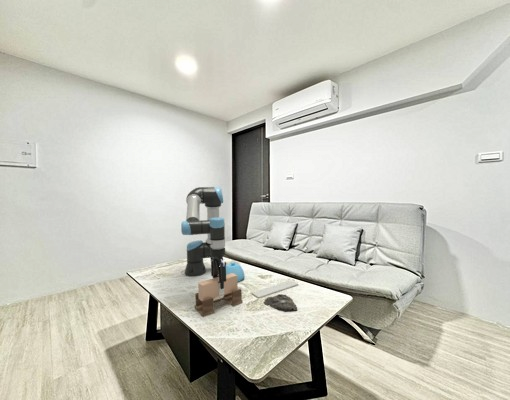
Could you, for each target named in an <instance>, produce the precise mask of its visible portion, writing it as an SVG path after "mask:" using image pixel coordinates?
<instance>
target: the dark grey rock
mask: <svg viewBox="0 0 510 400" xmlns="http://www.w3.org/2000/svg"><path fill="white" fill-rule="evenodd" d="M263 304H264V305H265V306H269V307H271V309H274V310H277V311H282V312H285V313H291V312H297V311H298V306H297V305H296V303H295V302H294V300H293V298H292V297H290V296H289V295H287V294H282V293H281V294H277V295H274V296H267V297H266V298H265V299H264V301H263Z"/></svg>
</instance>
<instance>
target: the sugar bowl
mask: <svg viewBox="0 0 510 400" xmlns="http://www.w3.org/2000/svg"><path fill="white" fill-rule="evenodd" d="M242 267H243V266H241V264H239V263H237V262H235V261H231V262H230V263H227V264H226V275H227V274H230V273H233V274H235V275H237V283H238V282H241V281H242V280H244V278H245V271H244V269H243V268H242Z"/></svg>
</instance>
